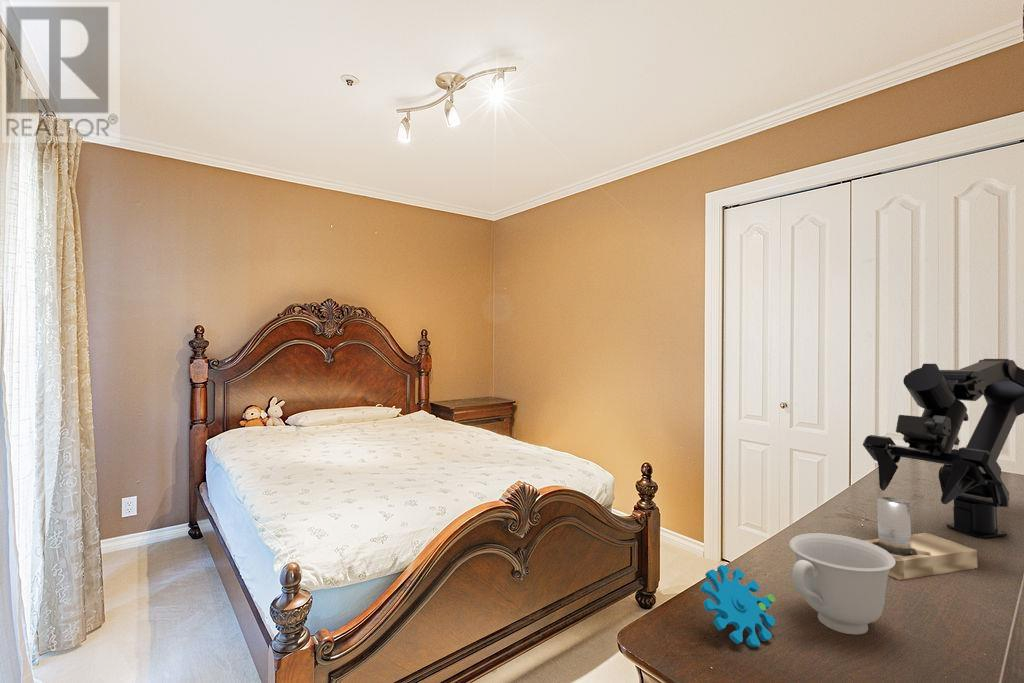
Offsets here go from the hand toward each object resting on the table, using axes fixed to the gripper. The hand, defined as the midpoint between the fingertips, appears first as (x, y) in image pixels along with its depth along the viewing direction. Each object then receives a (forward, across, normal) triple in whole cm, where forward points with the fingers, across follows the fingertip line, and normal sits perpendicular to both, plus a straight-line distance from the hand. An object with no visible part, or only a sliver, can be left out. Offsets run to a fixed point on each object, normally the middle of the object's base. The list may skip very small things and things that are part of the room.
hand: (910, 495), depth 85 cm
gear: (+39, +1, -26) cm, 46 cm away
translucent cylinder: (+12, 0, +2) cm, 13 cm away
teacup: (+30, +6, -17) cm, 35 cm away
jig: (+10, +1, +5) cm, 11 cm away
